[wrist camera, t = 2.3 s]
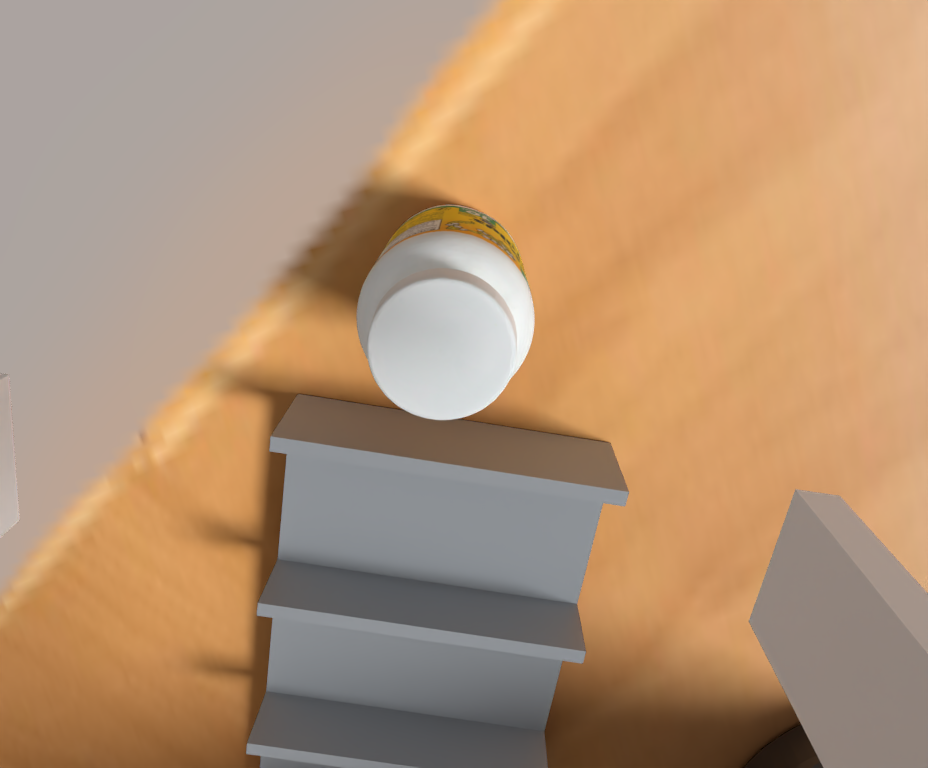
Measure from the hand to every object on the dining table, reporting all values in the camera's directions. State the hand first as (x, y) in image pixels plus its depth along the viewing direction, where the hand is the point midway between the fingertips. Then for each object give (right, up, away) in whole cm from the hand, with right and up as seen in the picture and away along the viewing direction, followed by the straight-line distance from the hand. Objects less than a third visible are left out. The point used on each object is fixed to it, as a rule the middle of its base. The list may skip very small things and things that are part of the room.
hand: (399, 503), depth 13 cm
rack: (-1, -10, +22) cm, 24 cm away
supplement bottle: (+1, +6, +16) cm, 17 cm away
